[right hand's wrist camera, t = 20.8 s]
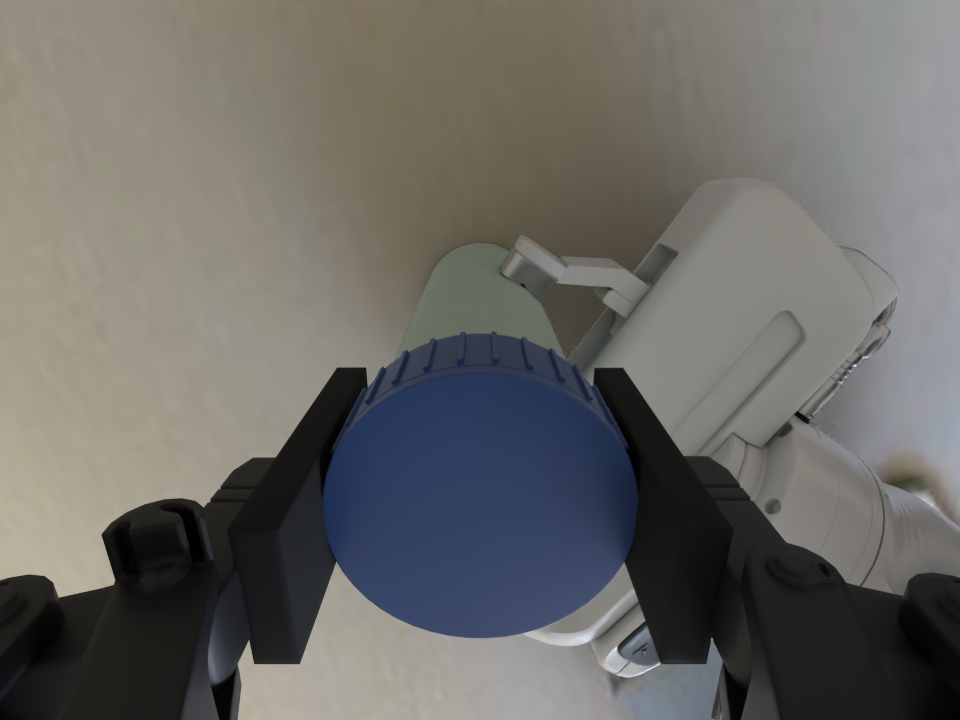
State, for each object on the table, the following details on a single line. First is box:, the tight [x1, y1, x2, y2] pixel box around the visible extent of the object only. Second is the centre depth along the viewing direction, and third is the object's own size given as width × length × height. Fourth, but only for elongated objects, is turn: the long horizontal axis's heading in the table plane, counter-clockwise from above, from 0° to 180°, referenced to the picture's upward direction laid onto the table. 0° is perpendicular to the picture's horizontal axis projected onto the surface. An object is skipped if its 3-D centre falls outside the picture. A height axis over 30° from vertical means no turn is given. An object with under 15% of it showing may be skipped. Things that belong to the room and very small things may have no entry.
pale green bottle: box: [394, 243, 566, 361], centre depth 19 cm, size 5×5×17 cm
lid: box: [322, 331, 639, 638], centre depth 11 cm, size 6×6×2 cm
